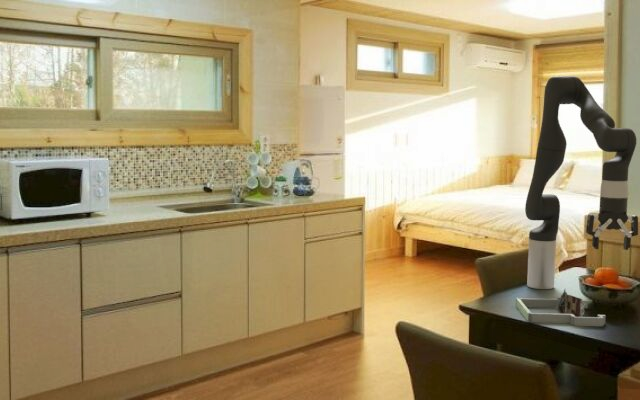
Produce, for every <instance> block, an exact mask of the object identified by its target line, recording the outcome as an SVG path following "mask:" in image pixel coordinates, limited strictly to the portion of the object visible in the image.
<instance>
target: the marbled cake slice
mask: <svg viewBox="0 0 640 400" xmlns="http://www.w3.org/2000/svg"><path fill="white" fill-rule="evenodd" d="M560 297H561V298H560V299H559V302H558V305H557V308H555V309H556V311H557V312H558V314H573V315H574V316H575V317H586V316H585V308H584V305H585V303H584V302H583V300H584V299H583V298H582V299H583V300H582V299H580V297H577V296H574V295H570V294H568V293H567V291H566V289H564V290H563V293H562V294H561V295H560Z"/></svg>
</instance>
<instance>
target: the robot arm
mask: <svg viewBox="0 0 640 400" xmlns="http://www.w3.org/2000/svg"><path fill="white" fill-rule="evenodd" d="M573 104H574V106H576V107H579V108H580V114H579V116H580V120H581V122H582V124H583V125H584V126H585V128H586V129H588V131H589V132H591V133H592V135H593V137H594V140H595V142H596V145H597V146H598V148H599V149H600V150H602V151H604V152H606V153H615V156H614V157H613V158H612V159H608V160H606V161H604V162H603V165H602V170H601V171H602V173H601V175H602V176H601V177H602V178H601V185H600V191H599V192H600V195H599V212H598V214H592V213H589V214H588V215H587V222H586V227H585V228H586V229H585V232H586V233H587V234H588V235H589V236H591V237H592V240H591V241H592V243H591V245H592V247H593V248H594V250H599V245H600V244H599V243H600V237H599V236H600V235H601V233H603V232H604V231H605V230H609V231H610V230H616V231H618V230H620V231H621V232H622V233H623V235H624V236H623V250H625V251H628V250H629V249H630V248H631V242H632V237H634V236H635V237H637V236H638V235H639V216H638V215H635V214H632V215H628V200H629V198H628V196H629V183H628V180H629V167H630V164H631V162H632V158H633V155H634V153H635V150H636V147H637V146H636V145H637V136H636V135H637V134H636V132H634V130H633V129H631V128H628V127H616V122H615V120H614V119H613V117H611V115H609V113H607V112H606V111H605V110H604V109H603V108H602V107H601V106H600V105H599V104H598V102H597V101H596V100H595V98H594V97H593V95H592V94H591V92H590V90H589V89H588V87H587V86H586V84H585V83H584V82H583V81H582V79H580V78H579V77H578V76H575V75H554V76H551V77H549V79H548V80H547V82H546V85H545V87H544V95H543V107H542V108H543V109H542V119H541V127H540V133H539V138H538V143H537V147H536V152H535V161H534V167H533V173H532V178H531V182H530V185H529V189H528V193H527V195H526V200H525V208H524V210H525V216H526V218H527V219H528V220H530V221H542V223H541V224H540V225H539V226H537V227H535V228H532V229H530V231H529V234H528V235H529V236H528V256H527V277H526V278H527V279H526V280H527V282H526V285H527V287H528V288H531V289H537V290H552V289H554V288H555V278H556V277H555V276H556V275H555V274H556V272H555V271H556V256H557V255H556V253H557V252H556V251H557V235H558V232H559V221H560V213H561V212H560V211H561V203H560V199H559V198H558V195H556V194H553V193H552V194H549V193H548V194H543V193H544V190H545V187H546V185H548V183H549V181H550V179H551V178H552V177H553V176H554V175H555V174H556V173H557V172H558V170H559V169H560V167H562V165H563V163H564V160H565V154H566V149H567V143H568V142H567V139H566V136H565V133H564V131H563V129H562V127H561V124H560V120H559V109H560V105H573ZM597 220H598V221H599V223H598V225H597V226H596V228H595V229H594V224H595V222H596V221H597ZM628 221H629V223H630V231H629V229H628V228H627V226H626V225H625V224H626V223H627V222H628Z"/></svg>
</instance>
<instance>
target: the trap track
mask: <svg viewBox="0 0 640 400" xmlns="http://www.w3.org/2000/svg"><path fill="white" fill-rule="evenodd" d="M560 298H561V296H560V297H559V296H557V297H555V296H554V297H552V298H531V297H529V298H528V297H526V298H525V297H524V298H523V297H522V298H521V297H516V298H515V307H516V308H517V310H518V311H519V312H520V314H521V315H522V316H523V317H524V319H526V321H527V323H549V324H550V323H551V324H552V323H554V324H555V323H556V324H570V325H571V326H578V327H604V326H605V324H606V314H597V316H596V317H595V316H584V317H575V316H574V315H573V314H560V313H551V312H549V313H548V312H531V310H529V309H528V307H529V308H553V309H554V308H555V309H556V308H557V305H558V302H559V299H560ZM579 298H580V297H579ZM580 299H582V300H583V302H584V303H585V305H584V309H588V304H589V301H588V300H587V299H583V297H581V298H580Z"/></svg>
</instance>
